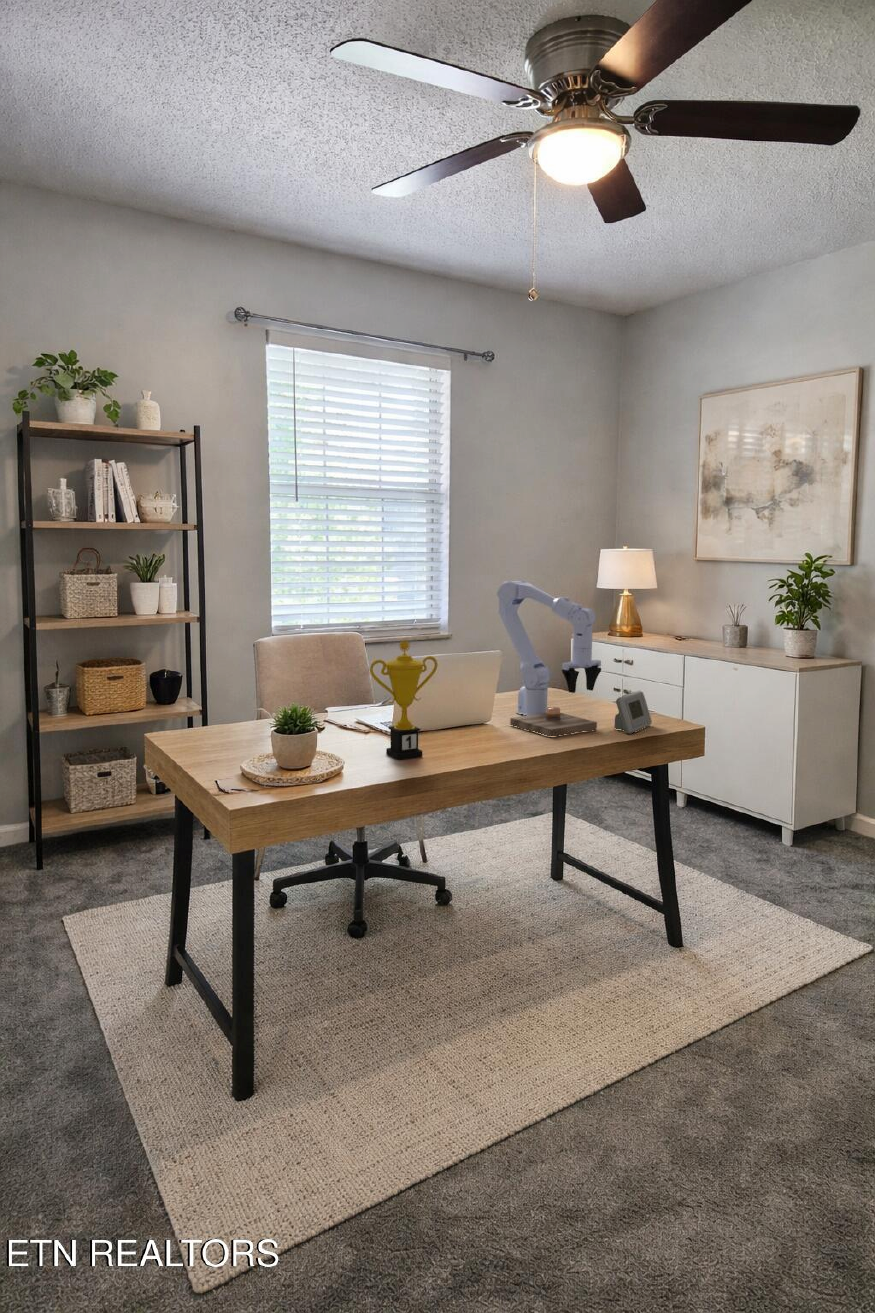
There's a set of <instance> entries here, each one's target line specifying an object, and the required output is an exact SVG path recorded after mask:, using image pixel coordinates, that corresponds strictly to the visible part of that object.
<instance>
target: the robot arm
mask: <svg viewBox="0 0 875 1313" xmlns="http://www.w3.org/2000/svg"><path fill="white" fill-rule="evenodd" d="M496 596H497V597H498V613H499V617H500V619H501V621H502V623H503V625H504V627H505V629H506V632H507V634H508V636H509V638H510V641H511V643H512V645H513V647H514V649H515V652H516V654H517V657H518V658H519V660H520V666H519V670H520V674H521V681H522V684H523V686H522V687H520V689H519V691H518V694H517V711H515V714H518V713H522V714H525V715H534V714H541V713H547V708H548V692H549V691H548V688H549V687H548V685H549V684H548V683H550V681H551V680H552V671H551V670H550V668H549V667H548V666H546V665H545V662H544V660H543V659H542V658H540V657H539V656H538V655H537V653H536V650H535V649H534V646H533V644H532V642H531V640H530V638H529V636H528V634H527V631H526V629H525V626H524V625H523V622H522V621H521V620H522V619H521V618H520V615H519V613H518V610H519V608H520V605H521V604H522V603H523V602H524V600H526V599H531V600H533V601H536V602H538V603H540V604H542V605H544V606H547V607H549V608H551V612H552V613H553V614H554V615H556V616H558V617H560V618H562V619H564V620H565V621H568V622H569V623H570V624H572V627H573V636H572V637H573V640H572V641H573V642H572V643H573V644H572V661H568V662H562V667H561V672H562V674H563V677H564V679H565V681H566V684H567V689H568V693H572V694H576V689H577V680H578V677H579V674H580V671H577V670H578V669H584V672H585V683H586V690H588V691H594V689H595V685H596V682H597V679H598V677H599V675H600V673H601V672H602V660H601V659H592V657H593V656H592V654H593V652H592V650H593V625H594V624H595V622H596V620H597V618H596V617H597V616H596V612H594V610H593V609H592V608H591V607H583V604H580V603H579V604H577V603H575V602H573V601H571V600H570V598H569V597H567V596H564V597H563V596H559V597H558V598H557V597H554V596H553V595H551V594H549V593H547V592H546V591H544V590H542V589H540V588H538V587H537V586H535V585H533V584H532V583H530V582H526V581H524V580H522V579H521V580H520V579H518V580H511V581H510V580H505V581H503V582H502V583H501V584H500V585H499V588H498V590H497V592H496ZM525 715H524V716H525Z"/></svg>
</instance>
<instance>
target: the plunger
mask: <svg viewBox="0 0 875 1313" xmlns="http://www.w3.org/2000/svg"><path fill="white" fill-rule="evenodd" d="M560 713H561V708H560V707H558V706H557V707H556V706H547V715H546V717H549V718H559V717H560Z"/></svg>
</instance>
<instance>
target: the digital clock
mask: <svg viewBox="0 0 875 1313" xmlns="http://www.w3.org/2000/svg"><path fill="white" fill-rule="evenodd" d="M644 694H645V693H644V692H643V691H641V690H637V691H632V692H630V693H627V694H623V695H622V696H620V697H617V699H616V700H615V704H616V708H617V710H618V713H616V714H615V716H614V729H615V728H616V729H621V730H624V731H623V732H624V733H626V734H627V733H631V734H632V733H633V732H635V731H638V730H640V729H642V728H644V727H646V726H647V727H649V726H650V725H651V724H652V723H653V721H652V717H651V715H650V711H649V707H648V704H647V700H646V696H645V695H644ZM648 725H649V726H648ZM647 727H646V728H647ZM644 729H645V728H644ZM642 730H643V729H642ZM640 731H641V730H640ZM638 732H639V731H638ZM635 733H636V732H635ZM633 734H634V733H633Z"/></svg>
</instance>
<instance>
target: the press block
mask: <svg viewBox="0 0 875 1313" xmlns="http://www.w3.org/2000/svg"><path fill="white" fill-rule="evenodd" d="M546 715H547V713H541V714H534V715H527V716H525V715H521V716H513V717H509V718H510V722H509V723H510V724H509V726H510V725H513V726H517V727H519V728H522V729H526V730H529V731H535V732H538V733H541V734H544V735H547V736H559V735H564V734H571V733H575V732H582V731H590V732H593V731H592V730H596V731H597V723H598V722H597V721H593V720H590V719H586V718H582V717H578V716H574V715H570V714H566V713H562V712H560V717H559V718H549V717H546ZM519 728H518V729H519ZM522 729H521V730H522ZM529 731H528V732H529Z"/></svg>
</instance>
